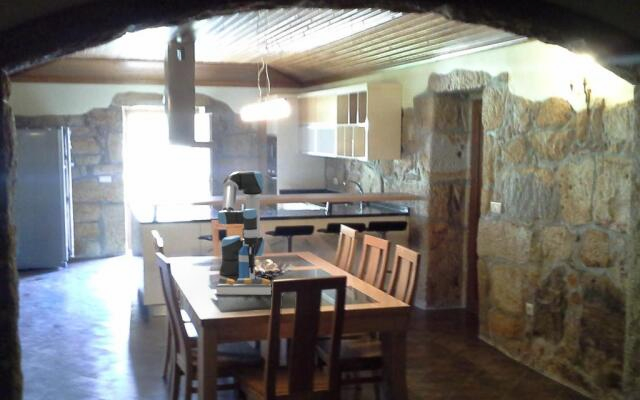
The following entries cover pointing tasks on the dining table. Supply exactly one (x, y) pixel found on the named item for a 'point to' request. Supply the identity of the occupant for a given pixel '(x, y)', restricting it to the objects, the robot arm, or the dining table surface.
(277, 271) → the dining table surface
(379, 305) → the dining table surface
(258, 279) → the rocker
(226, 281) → the rocker
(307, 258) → the dining table surface
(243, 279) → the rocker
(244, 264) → the water bottle
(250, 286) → the power strip
